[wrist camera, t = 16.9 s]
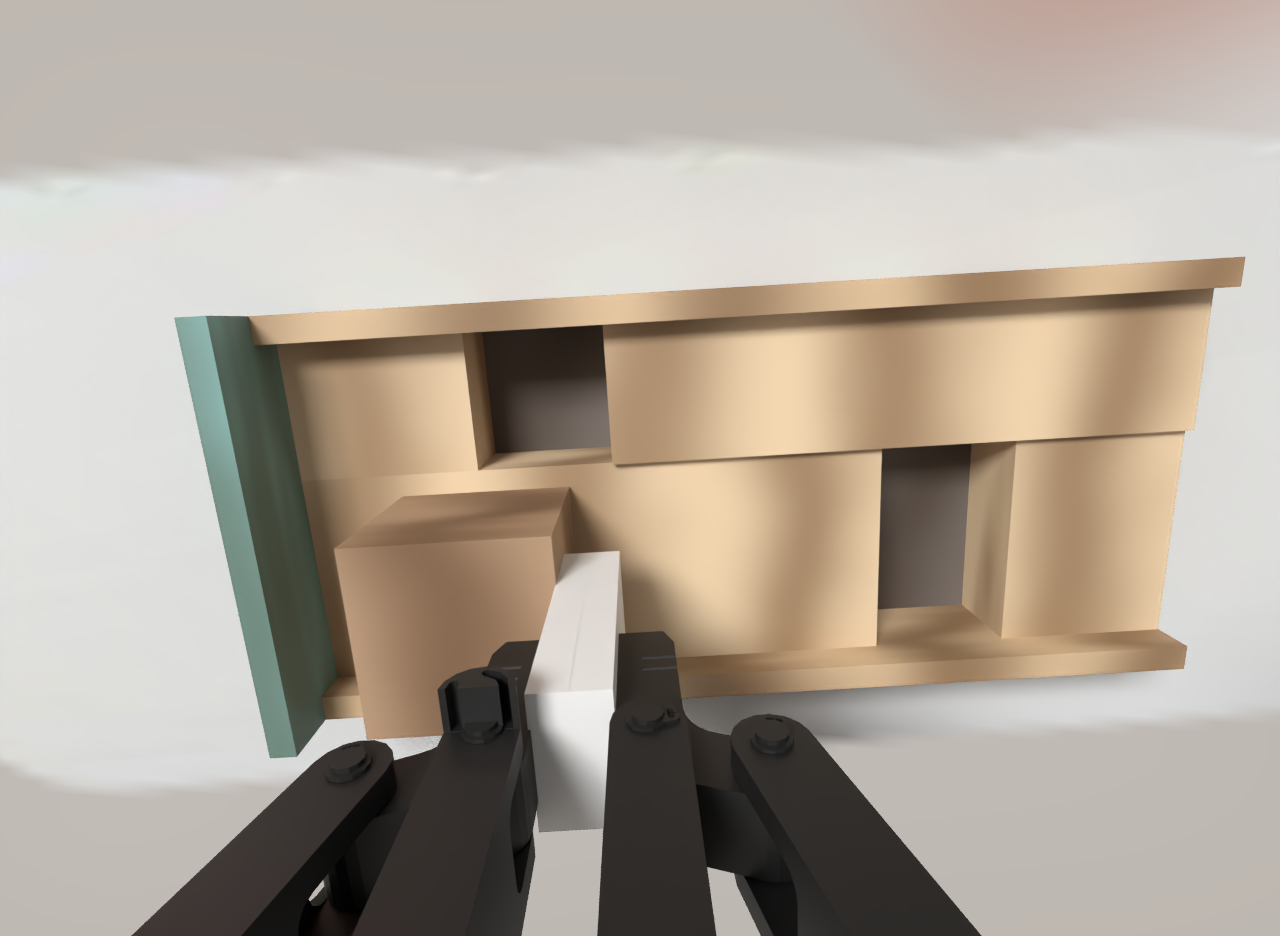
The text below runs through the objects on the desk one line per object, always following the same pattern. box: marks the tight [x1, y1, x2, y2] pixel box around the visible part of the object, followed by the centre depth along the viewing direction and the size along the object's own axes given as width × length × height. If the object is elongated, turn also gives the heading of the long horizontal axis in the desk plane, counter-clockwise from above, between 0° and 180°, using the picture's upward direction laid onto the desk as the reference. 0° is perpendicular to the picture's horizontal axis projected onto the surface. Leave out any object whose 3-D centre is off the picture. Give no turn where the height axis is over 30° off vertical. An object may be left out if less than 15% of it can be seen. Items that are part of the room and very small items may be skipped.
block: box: [334, 487, 575, 740], centre depth 17 cm, size 5×5×4 cm
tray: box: [174, 257, 1245, 758], centre depth 19 cm, size 27×12×6 cm, turn 93°
